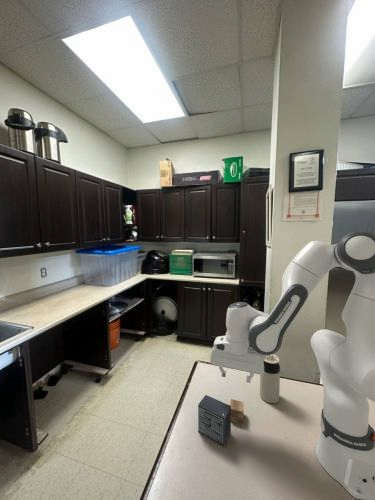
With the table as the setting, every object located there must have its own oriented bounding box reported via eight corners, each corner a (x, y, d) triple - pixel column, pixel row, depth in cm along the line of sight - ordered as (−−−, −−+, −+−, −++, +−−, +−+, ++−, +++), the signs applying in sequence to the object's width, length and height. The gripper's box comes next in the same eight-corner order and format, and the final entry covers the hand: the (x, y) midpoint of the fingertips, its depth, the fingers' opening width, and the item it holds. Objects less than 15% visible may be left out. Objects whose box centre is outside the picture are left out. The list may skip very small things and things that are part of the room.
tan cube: (243, 413, 84) (243, 401, 83) (242, 424, 79) (242, 411, 79) (230, 410, 85) (230, 398, 85) (229, 420, 80) (229, 408, 80)
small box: (231, 432, 76) (232, 405, 75) (224, 448, 70) (225, 418, 69) (205, 419, 81) (205, 393, 81) (197, 432, 76) (197, 404, 75)
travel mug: (269, 406, 87) (270, 365, 86) (256, 393, 94) (256, 355, 93) (283, 400, 90) (284, 360, 89) (269, 388, 98) (269, 350, 96)
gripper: (265, 345, 80) (264, 379, 81) (212, 336, 86) (212, 368, 87) (266, 353, 74) (264, 391, 75) (209, 343, 80) (208, 378, 81)
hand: (235, 378), depth 81 cm, fingers open, 8 cm apart
